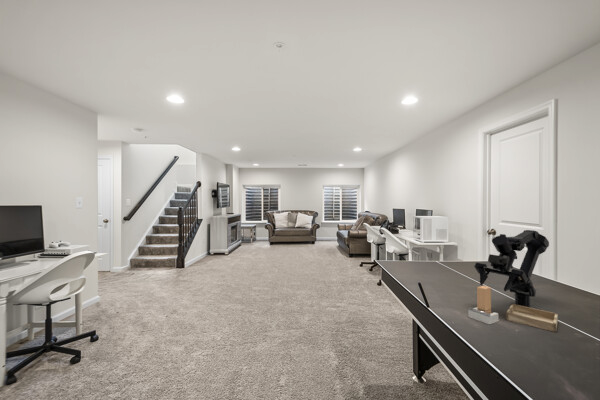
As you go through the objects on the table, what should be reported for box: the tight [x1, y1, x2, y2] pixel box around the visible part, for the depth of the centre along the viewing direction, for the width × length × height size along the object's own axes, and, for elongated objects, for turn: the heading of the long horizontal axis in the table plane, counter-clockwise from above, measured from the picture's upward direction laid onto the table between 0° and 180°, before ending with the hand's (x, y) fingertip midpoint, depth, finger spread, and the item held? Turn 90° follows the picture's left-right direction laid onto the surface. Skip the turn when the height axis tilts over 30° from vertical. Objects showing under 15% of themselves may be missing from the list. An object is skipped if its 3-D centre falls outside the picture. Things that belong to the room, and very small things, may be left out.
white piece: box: [468, 306, 500, 325], centre depth 111 cm, size 8×8×4 cm
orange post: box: [476, 285, 492, 314], centre depth 111 cm, size 4×3×13 cm, turn 118°
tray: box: [505, 303, 559, 333], centre depth 110 cm, size 15×15×3 cm
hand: (492, 287), depth 114 cm, fingers open, 9 cm apart
